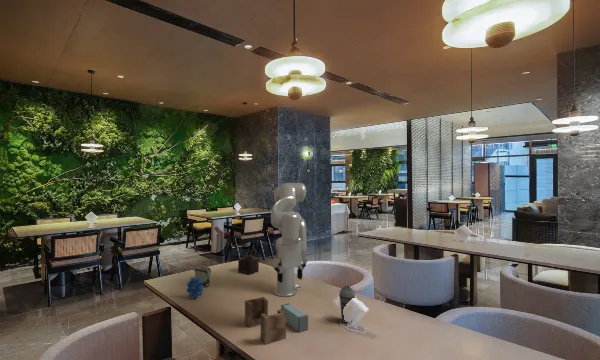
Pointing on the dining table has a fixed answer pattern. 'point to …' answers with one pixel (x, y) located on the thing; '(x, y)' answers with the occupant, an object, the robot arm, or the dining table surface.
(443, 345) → the dining table surface
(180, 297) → the dining table surface
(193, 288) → the grapes
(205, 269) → the food container
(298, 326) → the rail
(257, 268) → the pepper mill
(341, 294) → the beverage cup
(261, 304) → the notched wooden uprights
